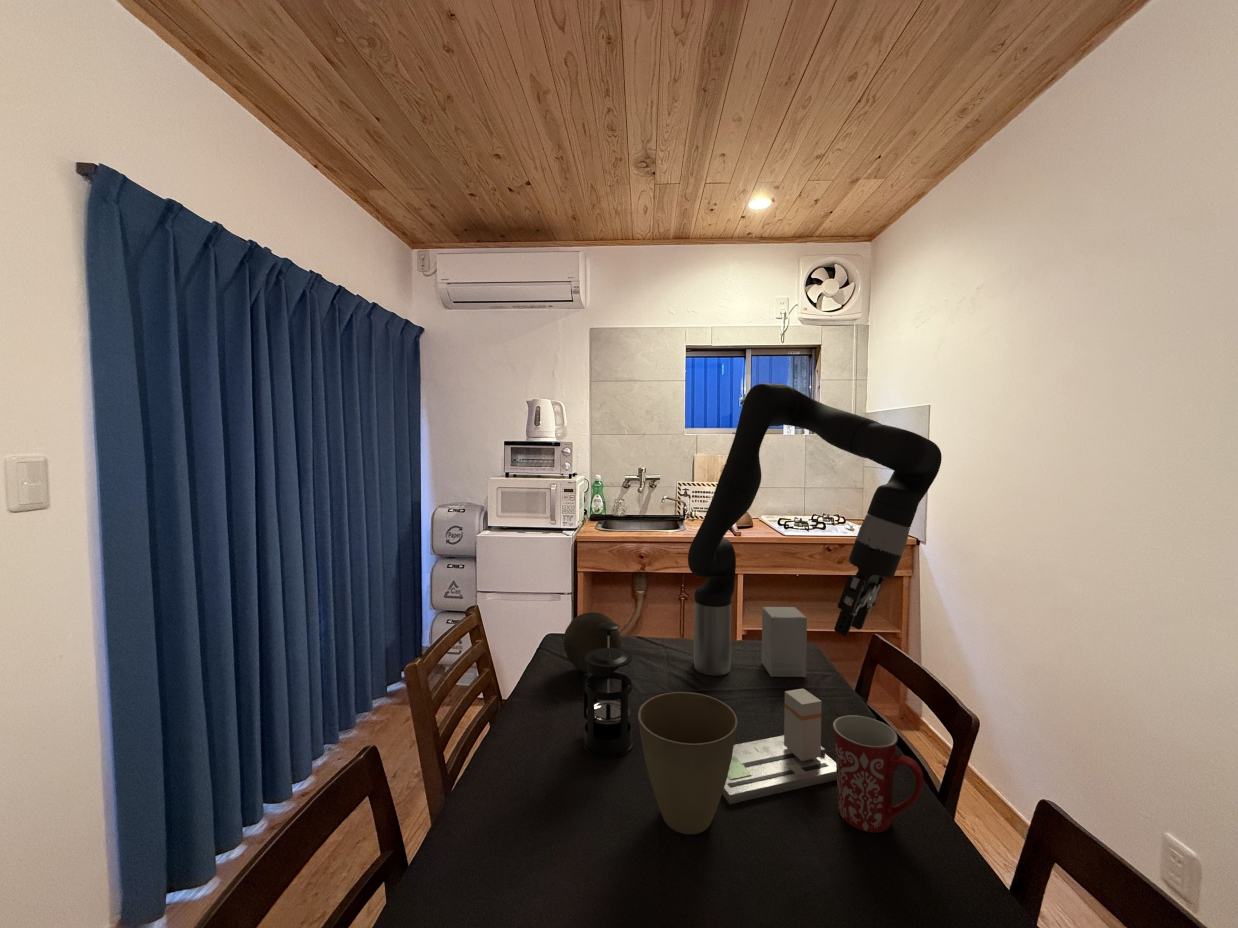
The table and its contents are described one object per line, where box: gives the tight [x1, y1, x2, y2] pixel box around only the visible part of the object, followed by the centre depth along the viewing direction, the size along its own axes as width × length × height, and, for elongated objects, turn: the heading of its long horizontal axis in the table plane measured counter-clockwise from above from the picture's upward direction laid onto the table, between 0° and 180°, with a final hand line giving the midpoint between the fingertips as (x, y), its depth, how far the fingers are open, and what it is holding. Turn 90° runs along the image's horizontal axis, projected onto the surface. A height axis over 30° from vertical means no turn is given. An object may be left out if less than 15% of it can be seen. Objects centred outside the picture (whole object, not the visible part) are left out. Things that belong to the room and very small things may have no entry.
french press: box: [583, 622, 634, 760], centre depth 98 cm, size 12×9×23 cm
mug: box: [832, 714, 925, 834], centre depth 77 cm, size 13×9×14 cm
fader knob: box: [783, 688, 823, 761], centre depth 92 cm, size 5×4×10 cm
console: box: [722, 734, 837, 805], centre depth 90 cm, size 12×22×2 cm, turn 107°
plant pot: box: [637, 691, 738, 835], centre depth 78 cm, size 15×15×16 cm
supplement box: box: [761, 606, 808, 678], centre depth 131 cm, size 9×9×15 cm
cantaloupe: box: [563, 611, 622, 674], centre depth 128 cm, size 14×14×15 cm
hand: (847, 630), depth 91 cm, fingers open, 8 cm apart
